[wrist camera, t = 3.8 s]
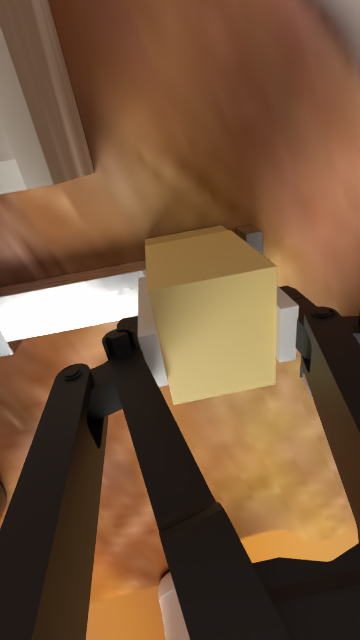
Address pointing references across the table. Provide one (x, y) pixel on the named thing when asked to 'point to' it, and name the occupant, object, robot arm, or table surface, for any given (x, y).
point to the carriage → (212, 312)
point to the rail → (78, 299)
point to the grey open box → (36, 102)
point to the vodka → (171, 610)
